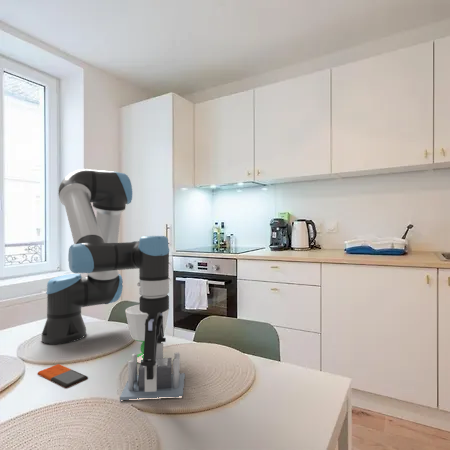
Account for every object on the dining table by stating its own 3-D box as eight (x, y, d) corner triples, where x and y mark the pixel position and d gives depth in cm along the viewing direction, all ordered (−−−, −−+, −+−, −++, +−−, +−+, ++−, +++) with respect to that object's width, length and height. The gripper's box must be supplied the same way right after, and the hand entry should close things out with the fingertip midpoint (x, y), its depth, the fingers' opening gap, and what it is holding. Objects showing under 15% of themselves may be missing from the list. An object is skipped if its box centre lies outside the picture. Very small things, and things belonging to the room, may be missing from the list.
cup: (155, 370, 91) (154, 316, 91) (115, 364, 95) (115, 312, 95) (177, 352, 104) (176, 304, 104) (141, 347, 108) (141, 301, 108)
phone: (59, 362, 95) (88, 375, 87) (59, 367, 95) (88, 380, 87) (36, 371, 89) (66, 385, 81) (36, 376, 89) (66, 390, 81)
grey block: (140, 379, 83) (140, 358, 83) (171, 376, 85) (171, 356, 85) (137, 390, 78) (137, 368, 78) (171, 388, 79) (171, 366, 79)
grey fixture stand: (130, 379, 86) (130, 349, 86) (184, 376, 87) (184, 348, 87) (119, 401, 75) (119, 368, 75) (182, 398, 76) (182, 365, 76)
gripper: (147, 286, 93) (148, 358, 93) (128, 307, 69) (129, 405, 69) (173, 285, 94) (173, 357, 94) (163, 306, 69) (163, 403, 69)
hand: (154, 378), depth 81 cm, fingers open, 12 cm apart
